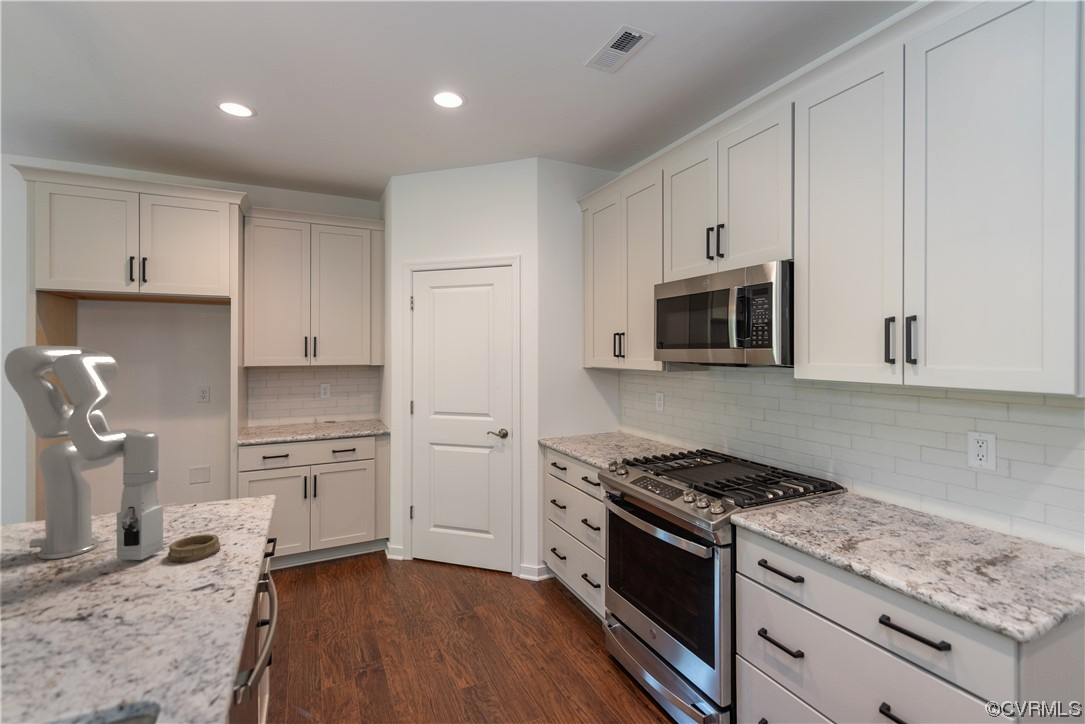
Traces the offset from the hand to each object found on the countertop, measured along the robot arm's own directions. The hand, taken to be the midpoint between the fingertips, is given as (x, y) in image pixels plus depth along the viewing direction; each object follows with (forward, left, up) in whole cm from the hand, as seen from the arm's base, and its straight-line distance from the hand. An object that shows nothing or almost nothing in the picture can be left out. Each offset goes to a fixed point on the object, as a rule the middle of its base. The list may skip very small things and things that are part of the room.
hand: (140, 538), depth 135 cm
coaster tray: (+13, -1, -5) cm, 14 cm away
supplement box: (0, 0, -5) cm, 5 cm away
